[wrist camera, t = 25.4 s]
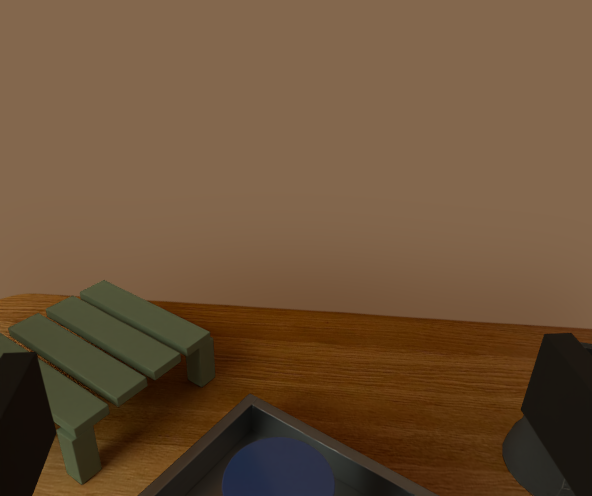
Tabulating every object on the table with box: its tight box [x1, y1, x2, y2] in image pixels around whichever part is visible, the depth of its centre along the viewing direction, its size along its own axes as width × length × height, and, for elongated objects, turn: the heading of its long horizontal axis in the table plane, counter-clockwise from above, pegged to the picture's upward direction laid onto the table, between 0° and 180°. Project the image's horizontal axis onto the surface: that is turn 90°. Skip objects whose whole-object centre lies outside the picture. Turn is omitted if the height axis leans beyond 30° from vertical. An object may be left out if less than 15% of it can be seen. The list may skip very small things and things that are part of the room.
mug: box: [503, 343, 592, 496], centre depth 42 cm, size 12×9×11 cm
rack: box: [0, 280, 215, 485], centre depth 51 cm, size 16×16×6 cm
